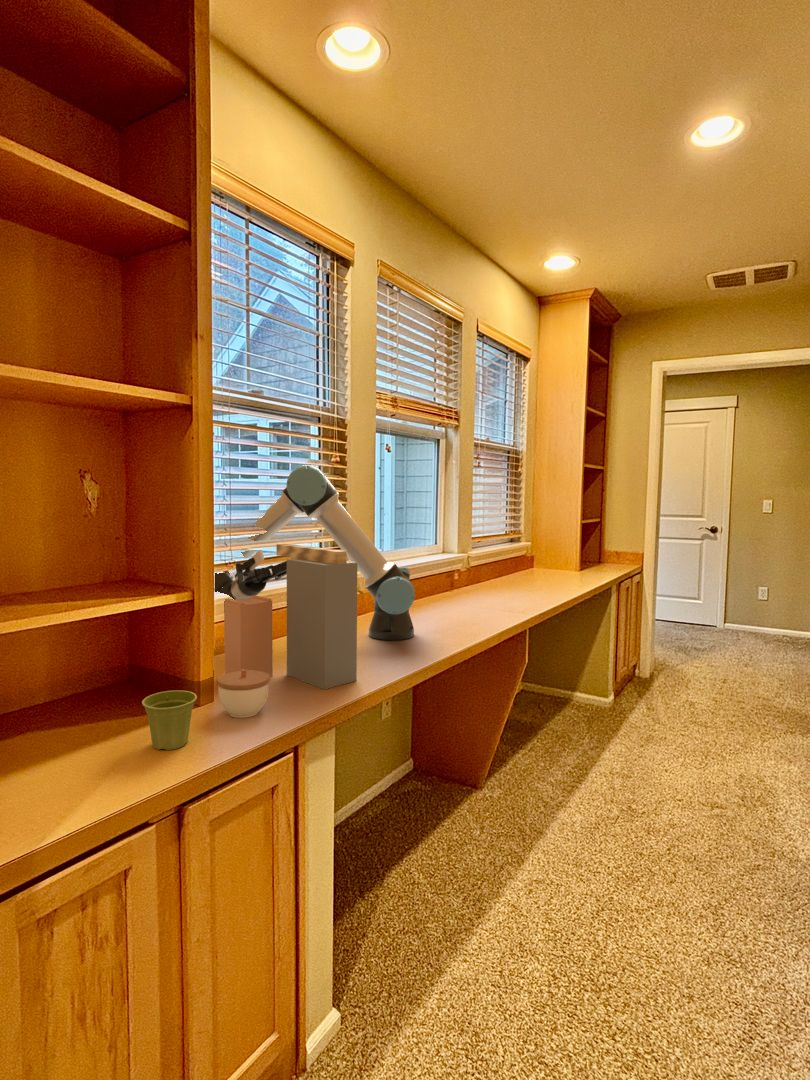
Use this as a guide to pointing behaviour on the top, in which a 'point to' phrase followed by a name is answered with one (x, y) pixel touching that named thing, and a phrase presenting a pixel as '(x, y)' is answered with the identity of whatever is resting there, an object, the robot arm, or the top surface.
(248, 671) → the lidded jar
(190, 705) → the plant pot
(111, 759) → the top surface
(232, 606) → the tall salmon pillar
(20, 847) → the top surface
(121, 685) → the top surface
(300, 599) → the slate riser
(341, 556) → the birch batten
